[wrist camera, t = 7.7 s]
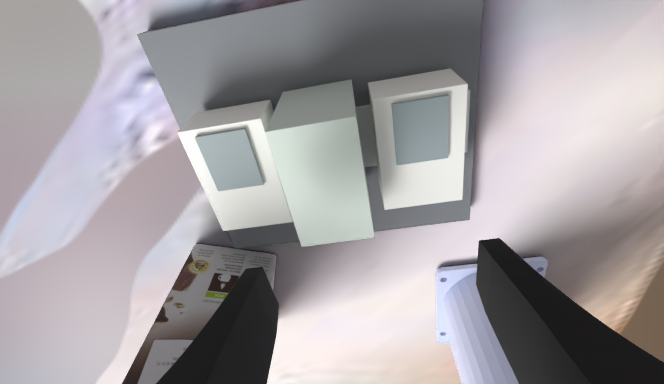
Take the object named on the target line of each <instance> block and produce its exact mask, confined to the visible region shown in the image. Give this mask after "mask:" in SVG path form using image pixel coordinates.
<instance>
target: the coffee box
mask: <svg viewBox="0 0 664 384" xmlns="http://www.w3.org/2000/svg"><path fill="white" fill-rule="evenodd" d="M255 267H263V269H264V271H265V273H266V276H267V278H268V280H269V283H270V285H271V288H272V290H273V289H274V277H275V267H276V255H275V254H270V253H263V252H256V251H248V250H241V249H234V248H227V247H220V246H212V245H205V244H196V245H195V246H194V247H193V249H192V251H191V253H190V255H189V257H188V259H187V260H186V262H185V264H184V266H183V268H182V270H181V272H180V274H179V276H178V278H177V280H176V281H175V283H174V285H173V287H172V289H171V291H170V293H169V294H168V296H167V298H166V301H165V302H164V304H163V306H162V308H161V310H160V312H159V314H158V316H157V318H156V320H155V322H154V324H153V326H152V327H151V329H150V331H149V333H148V335H147V337H146V339H145V341H144V343H143V345H142V346H141V348H140V350H139V352H138V354H137V356H136V358H135V360H134V362H133V364H132V366H131V368H130V370H129V371H128V373H127V375H126V377H125V379H124V381H123V383H122V384H156V383H157V382H158V381H159V380H160V379H161V377H162V376H163V375H164V374H165V373H166V372H167V371H168V370H169V369H170V368H171V366H172V365H173V364H174V363H175V362H176V361H177V360H178V358H179V357H180V356H181V355H182V354H183V353H184V351H185V350H186V349H187V348H188V346H189V345H190V344H191V343H192V341H193V340H194V339H195V338H196V336H197V335H198V334H199V333H200V331H201V330H202V329H203V327H204V326H205V325H206V324H207V322H208V321H209V319H210V318H211V317H212V315H213V314H214V313H215V311H216V310H217V309H218V307H219V306H220V304H221V303H222V302H223V300H224V299H225V297H226V296H227V295H228V293H229V292H230V290H231V289H232V287H233V286H234V284H235V283H236V282H237V280H238V279H239V277H240V276H241V275H242V273H243V272H244V270H245V269H247V268H255Z"/></svg>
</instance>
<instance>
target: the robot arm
mask: <svg viewBox="0 0 664 384" xmlns="http://www.w3.org/2000/svg"><path fill="white" fill-rule="evenodd" d="M547 266H548V261H547V260H546V258H545V257H532V258H523V259H522V258H521V257H520V256H519V255H518V254H516V253H515V252H514V251H513V250H512V249H511V248H510V247H509V246H508V245H506V244H505V243H504V242H503V241H502V240H501V239H499V238H497V239H489V240H480V241H479V248H478V261H477V264H468V265H459V266H450V267H442V268H439V269H438V270H437V271H436V338H437V341H438V342H439V343H450V346H451V350H452V353H453V356H454V360H455V363H456V367H457V370H458V373H459V377H460V380H461V383H462V384H664V362H662V361H660V360H659V359H657V358H655V357H654V356H652V355H650V354H649V353H647V352H646V351H644V350H642V349H641V348H639V347H638V346H636V345H635V344H633V343H632V342H630V341H629V340H627V339H626V338H624V337H622V336H621V335H620V334H618V333H617V332H615V331H614V330H612V329H611V328H609V327H608V326H606V325H605V324H604V323H602V322H601V321H599V320H598V319H597V318H595V317H594V316H592V315H591V314H590V313H588V312H587V311H586V310H584V309H583V308H582V307H580V306H579V305H578V304H576V303H575V302H574V301H573V300H571V299H570V298H569V297H567V296H566V295H565V294H564V293H562V292H561V291H560V290H559V289H557V288H556V287H555V286H554V285H553V284H551V283H550V282H549V281H548V280H546V279H545V274H546V270H547ZM278 307H279V304H278V302H277V300H276V297H275V295H274V292H273V290H272V288H271V285H270V283H269V280H268V278H267V276H266V273H265V271H264V269H263V267H255V268H247V269H245V270H244V272H243V273H242V275H241V276H240V277H239V279H238V280H237V282H236V283H235V284H234V286H233V287H232V289H231V290H230V292H229V293H228V295H227V296H226V297H225V299H224V300H223V302H222V303H221V304H220V306H219V307H218V309H217V310H216V311H215V313H214V314H213V315H212V317H211V318H210V319H209V321H208V322H207V324H206V325H205V326H204V327H203V329H202V330H201V331H200V333H199V334H198V335H197V336H196V338H195V339H194V340H193V341H192V343H191V344H190V345H189V346H188V348H187V349H186V350H185V351H184V353H183V354H182V355H181V356H180V357H179V358H178V360H177V361H176V362H175V363H174V364H173V365H172V366H171V368H170V369H169V370H168V371H167V372H166V373H165V374H164V375H163V376H162V377H161V379H160V380H159V381H158V382H157V383H156V384H267V379H268V374H269V369H270V364H271V359H272V354H273V349H274V344H275V339H276V333H277V322H278Z"/></svg>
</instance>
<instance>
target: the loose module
mask: <svg viewBox="0 0 664 384" xmlns="http://www.w3.org/2000/svg"><path fill="white" fill-rule="evenodd" d="M265 134H266V137H267V141H268V144H269V147H270V150H271V153H272V156H273V159H274V162H275V166H276V169H277V172H278V175H279V178H280V181H281V184H282V187H283V191H284V194H285V197H286V200H287V203H288V206H289V209H290V212H291V216H292V219H293V222H294V225H295V228H296V231H297V234H298V237H299V241H300V244H301V247H306V246H314V245H322V244H329V243H337V242H345V241H353V240H360V239H368V238H375V237H374V230H373V222H372V215H371V208H370V200H369V193H368V185H367V178H366V172H365V165H364V159H363V152H362V145H361V139H360V132H359V126H358V119H357V112H356V106H355V99H354V93H353V86H352V80H351V79H350V80H345V81H339V82H334V83H328V84H323V85H318V86H312V87H307V88H301V89H296V90H291V91H285V92H283V93H282V95H281V97H280V99H279V102H278V104H277V106H276V108H275V111H274V113H273V115H272V117H271V119H270V122H269V124H268V126H267V128H266V131H265Z"/></svg>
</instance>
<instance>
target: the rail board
mask: <svg viewBox="0 0 664 384" xmlns="http://www.w3.org/2000/svg"><path fill="white" fill-rule="evenodd" d="M482 14H483V0H296V1H292V2H287V3H282V4H277V5H272V6H267V7H262V8H258V9H253V10H248V11H243V12H238V13H233V14H228V15H224V16H219V17H214V18H209V19H204V20H199V21H195V22H190V23H185V24H180V25H175V26H170V27H165V28H161V29H156V30H151V31H146V32H143V33H140V34H137V36H138V38H139V40H140V42H141V44H142V47H143V49H144V51H145V53H146V55H147V57H148V60H149V62H150V64H151V66H152V68H153V71H154V73H155V75H156V77H157V79H158V81H159V84H160V86H161V88H162V90H163V92H164V95H165V97H166V99H167V101H168V103H169V105H170V108H171V110H172V112H173V114H174V116H175V119H176V121H177V123H178V125H179V127H180V130H179V131H178V132H177V133H178V135H179V138H180V140H181V142H182V144H183V146H184V148H185V150H186V152H187V155H188V157H189V159H190V161H191V163H192V165H193V168H194V170H195V172H196V174H197V176H198V178H199V180H200V183H201V185H202V187H203V189H204V191H205V193H206V195H207V198H208V200H209V202H210V204H211V206H212V208H213V210H214V213H215V215H216V217H217V219H218V221H219V223H220V225H221V228H222V230H223V231H227V232H228V234H229V236H230V239H231V241H232V243H233V245H234V247H235V249H239V248H247V247H255V246H263V245H271V244H279V243H287V242H295V241H299V237H298V234H297V231H296V228H295V225H294V222H293V219H292V216H291V212H290V209H289V206H288V203H287V200H286V197H285V194H284V191H283V187H282V184H281V181H280V178H279V175H278V172H277V169H276V166H275V162H274V159H273V156H272V153H271V150H270V147H269V144H268V141H267V137H266V134H265V131H266V128H267V126H268V124H269V122H270V119H271V117H272V115H273V113H274V111H275V108H276V106H277V104H278V102H279V99H280V97H281V95H282V93H283V92H285V91H291V90H296V89H301V88H307V87H312V86H318V85H323V84H328V83H334V82H339V81H345V80H350V79H351V80H352V86H353V93H354V99H355V106H356V112H357V119H358V126H359V132H360V139H361V145H362V152H363V159H364V165H365V172H366V178H367V185H368V193H369V200H370V208H371V215H372V222H373V230H374V232H375V231H383V230H391V229H399V228H407V227H415V226H423V225H432V224H440V223H448V222H456V221H464V220H469V219H470V203H471V188H472V172H473V156H474V140H475V125H476V109H477V93H478V77H479V62H480V46H481V30H482Z"/></svg>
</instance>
